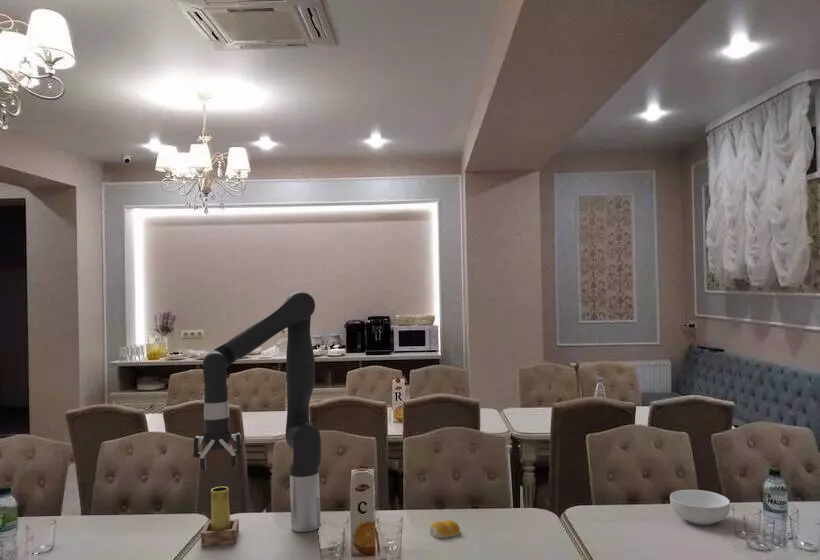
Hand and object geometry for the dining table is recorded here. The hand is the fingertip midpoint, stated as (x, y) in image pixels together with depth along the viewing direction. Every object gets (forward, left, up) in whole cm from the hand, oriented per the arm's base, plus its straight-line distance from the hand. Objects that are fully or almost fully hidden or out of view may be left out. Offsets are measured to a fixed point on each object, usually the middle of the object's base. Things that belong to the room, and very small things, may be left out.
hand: (218, 468), depth 196 cm
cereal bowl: (-146, +24, -22) cm, 150 cm away
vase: (0, 0, -21) cm, 21 cm away
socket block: (0, 0, -22) cm, 22 cm away
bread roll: (-67, +14, -22) cm, 72 cm away
